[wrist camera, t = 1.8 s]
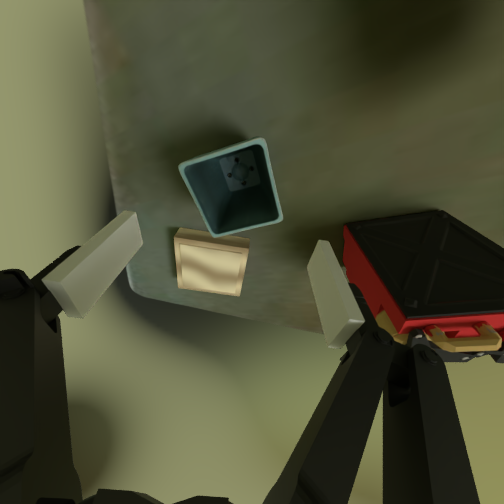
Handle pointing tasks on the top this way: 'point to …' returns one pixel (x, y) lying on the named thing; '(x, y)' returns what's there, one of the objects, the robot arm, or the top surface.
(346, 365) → the robot arm
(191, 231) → the oak stand
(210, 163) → the flower pot
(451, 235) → the red mechanical box
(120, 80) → the top surface
